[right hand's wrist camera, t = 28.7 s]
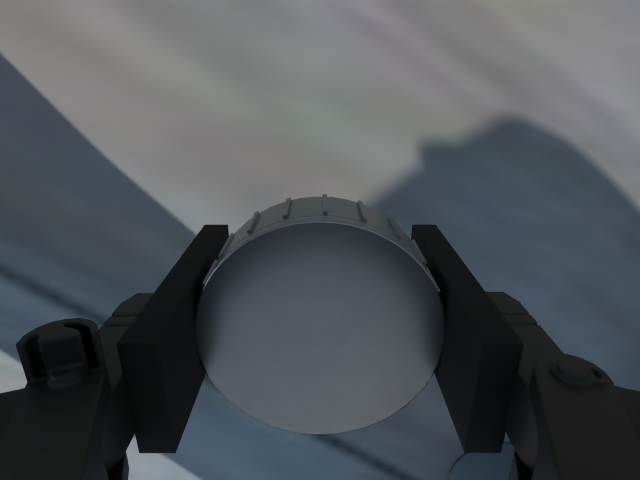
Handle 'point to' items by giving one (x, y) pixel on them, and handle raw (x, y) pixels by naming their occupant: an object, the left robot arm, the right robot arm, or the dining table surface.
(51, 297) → the dining table surface
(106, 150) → the dining table surface
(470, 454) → the bottle
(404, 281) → the lid
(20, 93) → the dining table surface
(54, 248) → the dining table surface
